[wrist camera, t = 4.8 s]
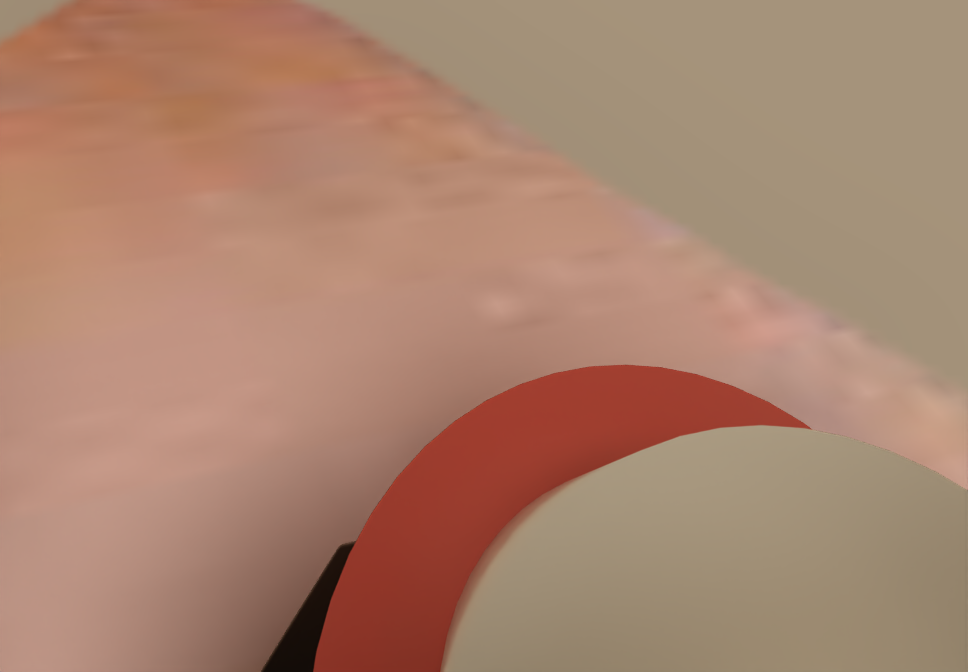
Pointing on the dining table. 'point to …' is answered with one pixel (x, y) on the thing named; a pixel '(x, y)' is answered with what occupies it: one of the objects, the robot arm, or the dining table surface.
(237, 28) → the dining table surface
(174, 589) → the dining table surface
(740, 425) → the squeeze bottle
